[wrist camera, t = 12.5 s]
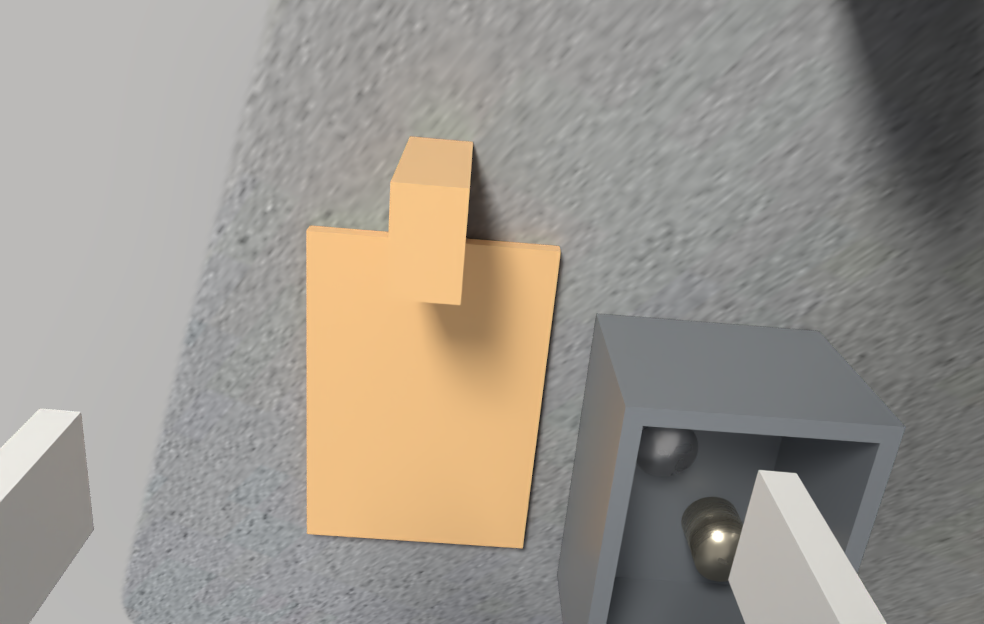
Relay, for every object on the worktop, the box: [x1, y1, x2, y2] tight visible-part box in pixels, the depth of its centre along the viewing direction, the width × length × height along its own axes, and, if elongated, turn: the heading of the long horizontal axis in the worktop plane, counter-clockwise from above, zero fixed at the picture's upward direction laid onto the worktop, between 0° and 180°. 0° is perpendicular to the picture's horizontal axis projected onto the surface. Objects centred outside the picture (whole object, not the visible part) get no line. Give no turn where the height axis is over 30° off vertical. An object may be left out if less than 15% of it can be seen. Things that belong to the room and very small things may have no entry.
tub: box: [557, 314, 906, 624], centre depth 39 cm, size 16×11×9 cm
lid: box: [307, 137, 561, 548], centre depth 37 cm, size 22×12×8 cm, turn 175°
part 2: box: [681, 497, 743, 582], centre depth 42 cm, size 3×3×3 cm
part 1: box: [636, 426, 698, 476], centre depth 40 cm, size 3×3×3 cm
